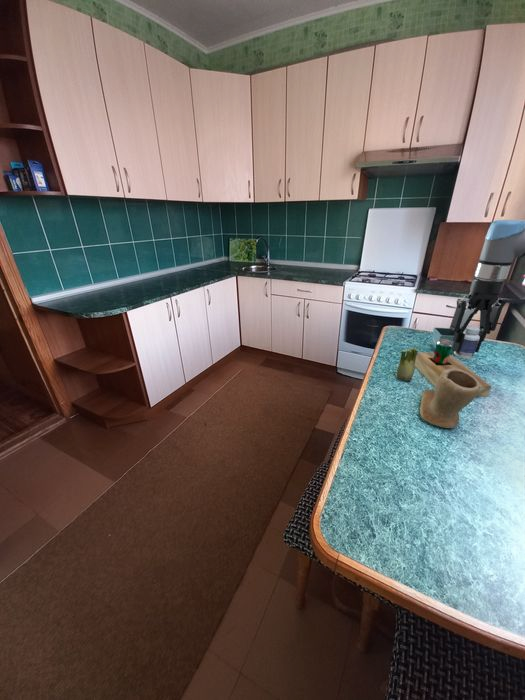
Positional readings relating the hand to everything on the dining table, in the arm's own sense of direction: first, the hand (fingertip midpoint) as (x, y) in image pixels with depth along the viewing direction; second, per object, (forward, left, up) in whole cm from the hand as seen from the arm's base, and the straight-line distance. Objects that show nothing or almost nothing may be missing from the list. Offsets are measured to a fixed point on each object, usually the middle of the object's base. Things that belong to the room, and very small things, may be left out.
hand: (464, 350), depth 94 cm
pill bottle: (0, 0, -2) cm, 2 cm away
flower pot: (-11, -25, -14) cm, 31 cm away
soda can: (0, -10, -14) cm, 17 cm away
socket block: (0, -5, -13) cm, 14 cm away
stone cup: (+13, +15, -14) cm, 24 cm away
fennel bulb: (+15, -5, -14) cm, 21 cm away
